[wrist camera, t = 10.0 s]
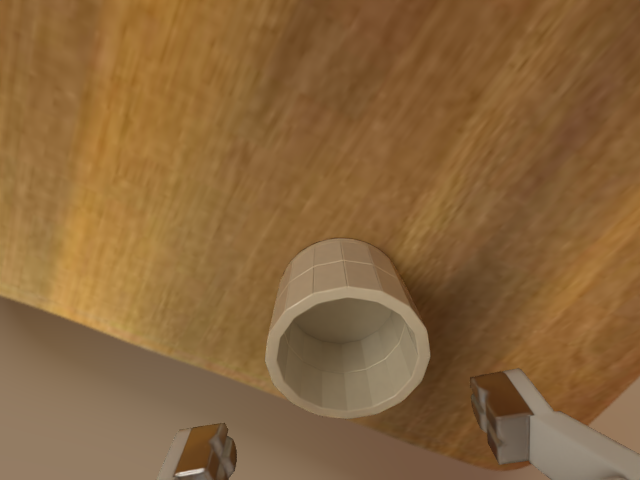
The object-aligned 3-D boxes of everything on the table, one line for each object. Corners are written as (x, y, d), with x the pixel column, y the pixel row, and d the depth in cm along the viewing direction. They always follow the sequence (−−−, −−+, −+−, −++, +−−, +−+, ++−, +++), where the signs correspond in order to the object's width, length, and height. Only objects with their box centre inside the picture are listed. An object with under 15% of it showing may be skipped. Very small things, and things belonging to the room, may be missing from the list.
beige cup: (408, 332, 19) (437, 404, 14) (296, 353, 20) (289, 429, 15) (391, 225, 17) (419, 271, 12) (264, 252, 17) (244, 307, 13)
